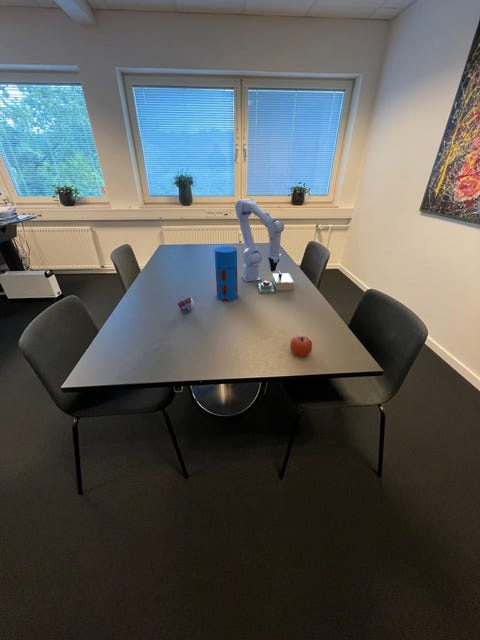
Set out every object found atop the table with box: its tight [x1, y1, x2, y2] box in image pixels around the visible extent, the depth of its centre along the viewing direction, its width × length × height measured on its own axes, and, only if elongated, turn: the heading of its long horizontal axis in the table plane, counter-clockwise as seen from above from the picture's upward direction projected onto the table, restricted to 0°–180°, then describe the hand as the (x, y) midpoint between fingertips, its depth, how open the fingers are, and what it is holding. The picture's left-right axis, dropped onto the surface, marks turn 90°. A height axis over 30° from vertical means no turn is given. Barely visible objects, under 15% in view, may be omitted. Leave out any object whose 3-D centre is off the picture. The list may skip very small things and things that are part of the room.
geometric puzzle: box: [177, 296, 195, 312], centre depth 121 cm, size 7×7×8 cm
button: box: [262, 279, 270, 285], centre depth 142 cm, size 3×3×2 cm
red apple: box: [289, 335, 313, 357], centre depth 93 cm, size 8×8×7 cm
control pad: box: [257, 281, 276, 294], centre depth 143 cm, size 8×11×3 cm
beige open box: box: [272, 276, 295, 291], centre depth 146 cm, size 9×13×4 cm
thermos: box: [214, 245, 239, 302], centre depth 129 cm, size 11×11×25 cm
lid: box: [272, 270, 295, 284], centre depth 144 cm, size 10×13×4 cm
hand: (272, 271), depth 140 cm, fingers closed
